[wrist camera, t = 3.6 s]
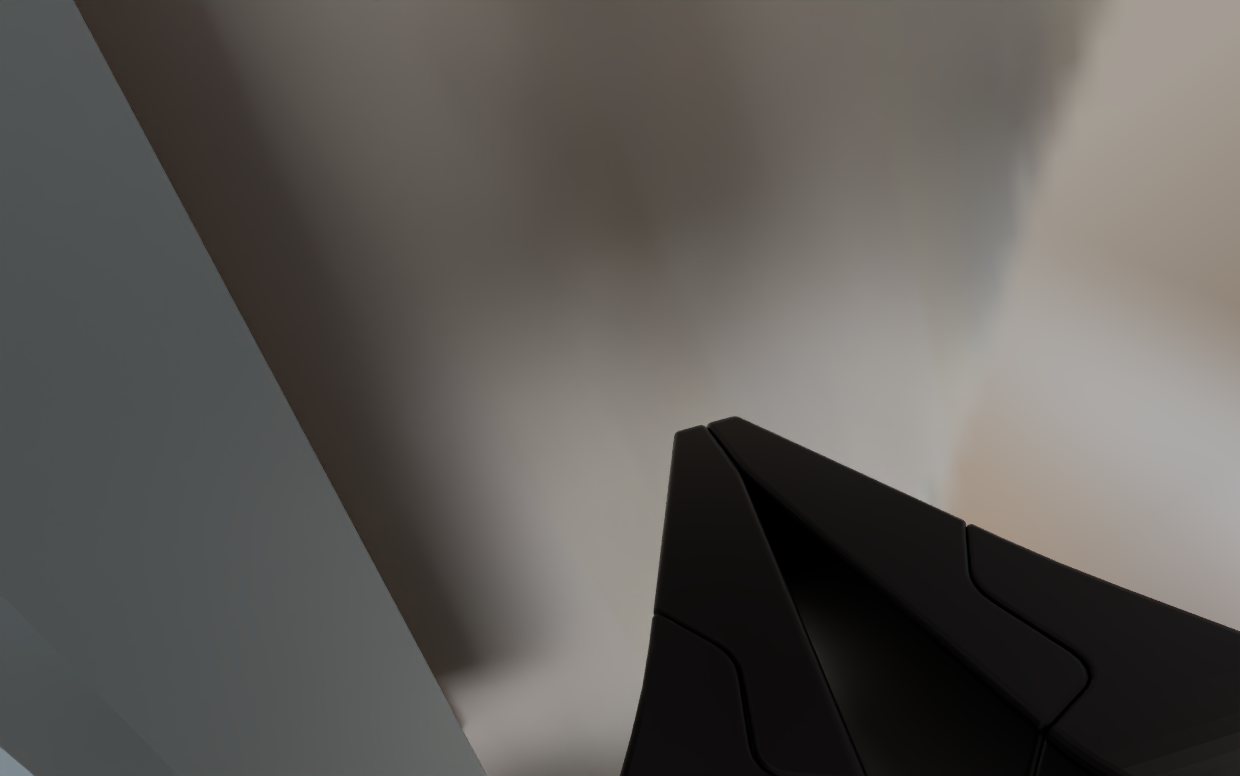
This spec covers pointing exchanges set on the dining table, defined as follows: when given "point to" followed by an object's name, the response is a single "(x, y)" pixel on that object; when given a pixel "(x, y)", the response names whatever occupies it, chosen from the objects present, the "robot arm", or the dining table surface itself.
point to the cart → (165, 483)
